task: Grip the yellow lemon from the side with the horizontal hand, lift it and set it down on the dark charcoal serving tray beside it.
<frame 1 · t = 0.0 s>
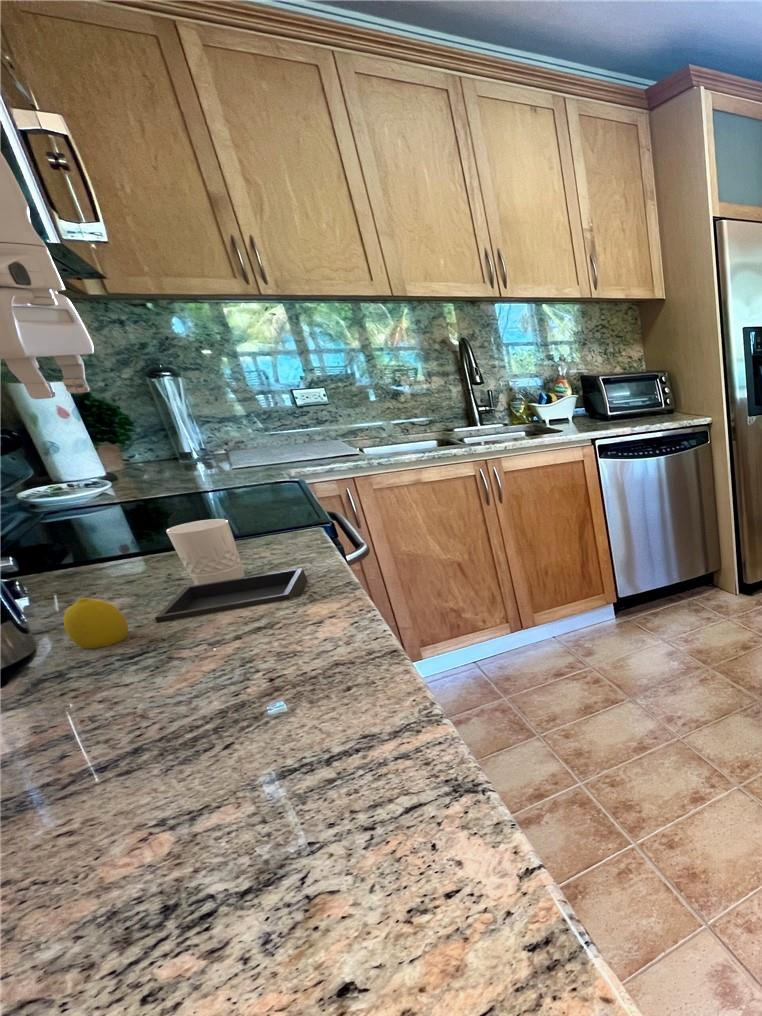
hand: (63, 395, 81), 32 cm above the countertop, tool pointing down, fingers open, 8 cm apart
white cup: (221, 581, 111), on the countertop
lemon: (111, 653, 87), on the countertop
tray: (241, 605, 100), on the countertop
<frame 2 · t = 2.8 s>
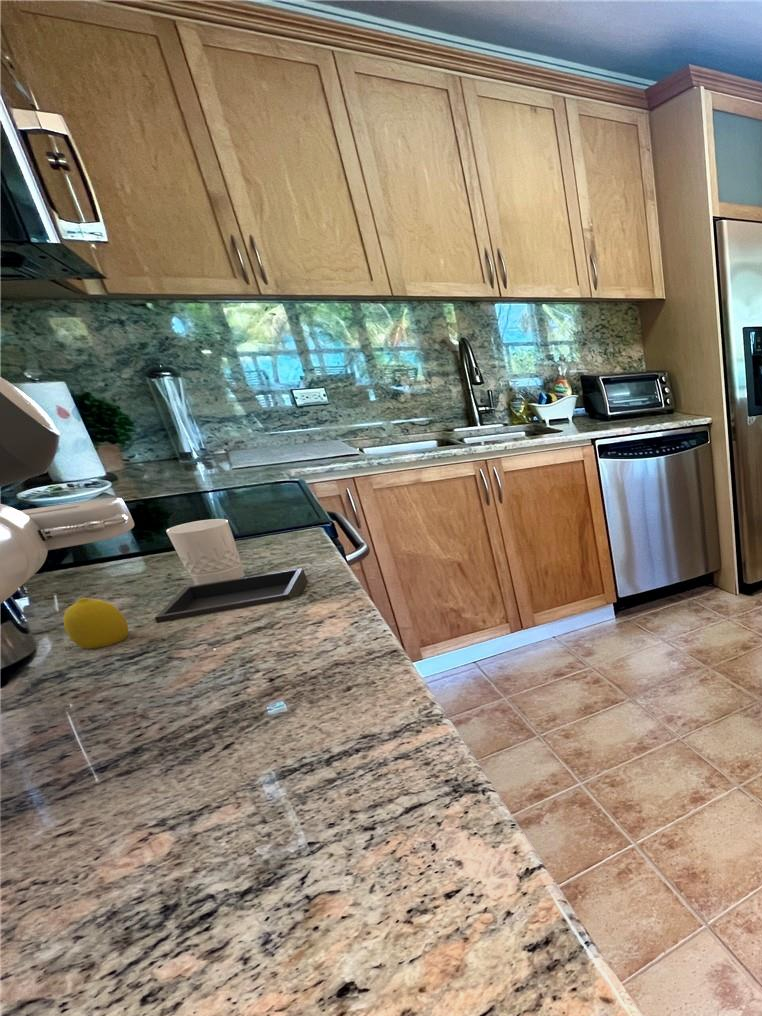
hand: (10, 524, 70), 20 cm above the countertop, tool horizontal, fingers open, 8 cm apart
nothing on the countertop moved.
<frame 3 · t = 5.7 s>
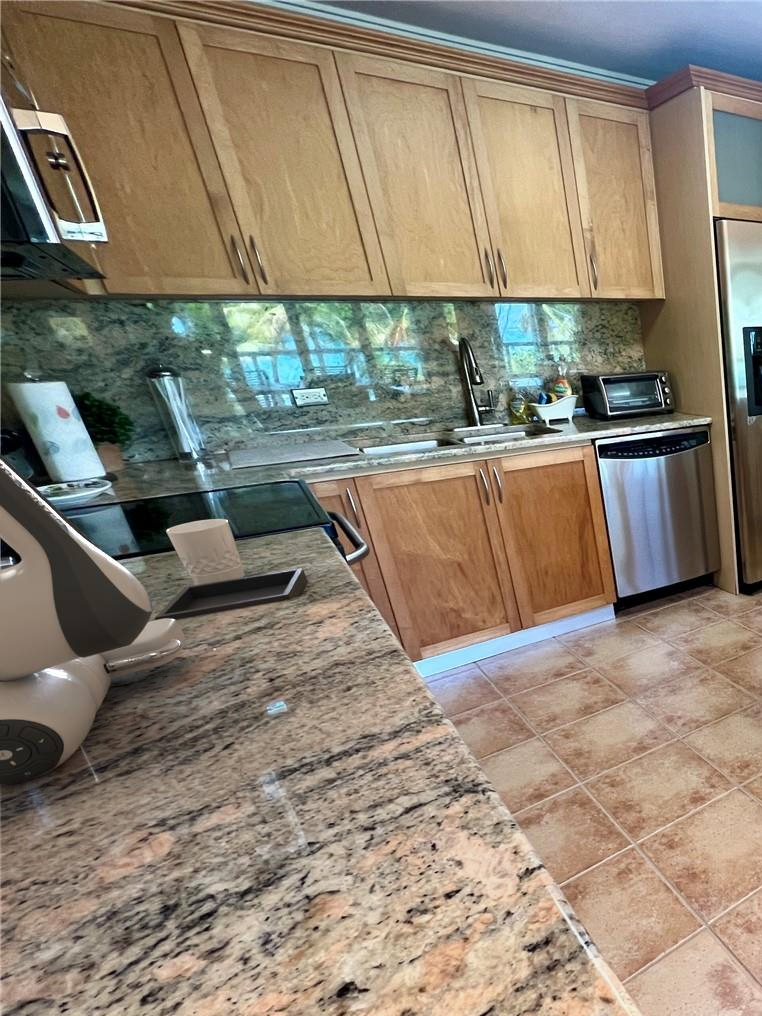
hand: (76, 639, 78), 5 cm above the countertop, tool horizontal, fingers open, 8 cm apart
nothing on the countertop moved.
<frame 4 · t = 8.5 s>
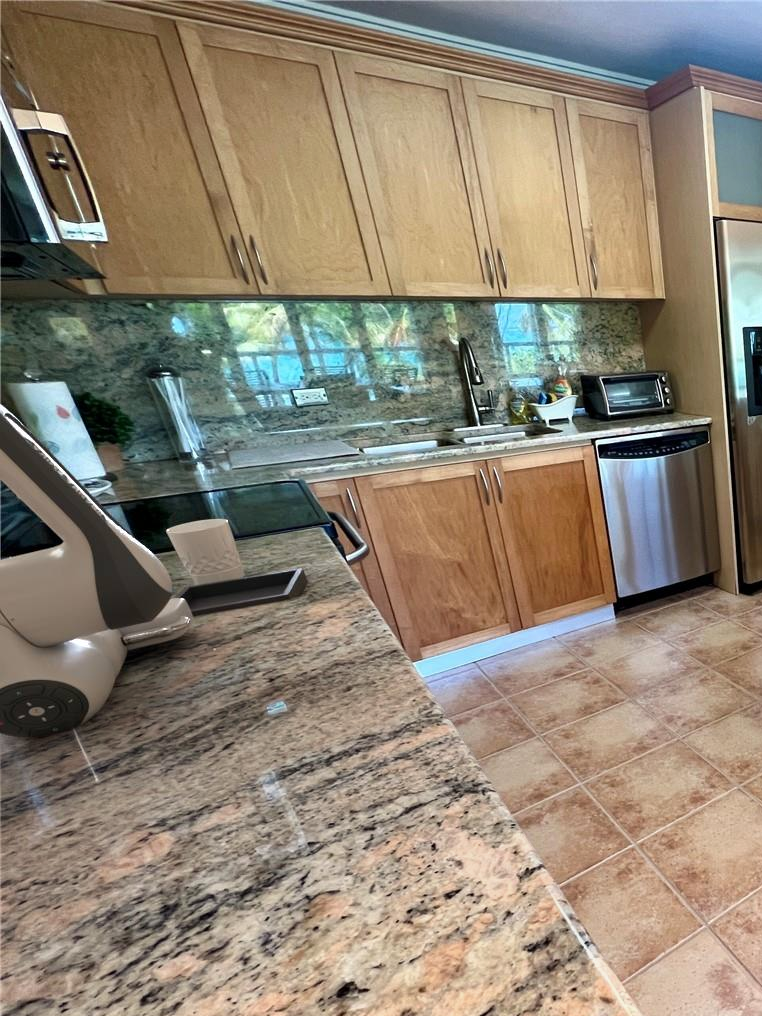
hand: (94, 616, 85), 5 cm above the countertop, tool horizontal, fingers closed on lemon, 5 cm apart
lemon: (111, 653, 87), on the countertop, touching gripper
everything else where it was.
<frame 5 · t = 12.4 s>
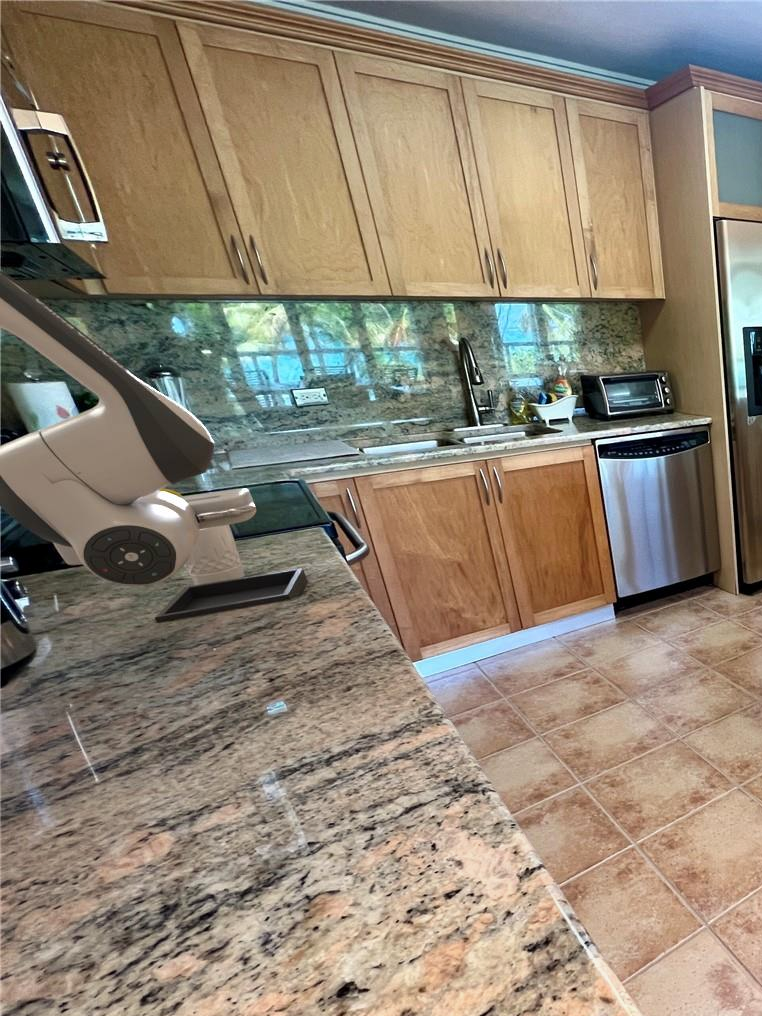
hand: (164, 506, 91), 17 cm above the countertop, tool horizontal, fingers closed on lemon, 5 cm apart
lemon: (179, 542, 92), point 12 cm above the countertop, touching gripper
everything else where it was.
when the fingers open (5 cm above the countertop, at t = 16.6 s): lemon stays where it is, resting on tray.
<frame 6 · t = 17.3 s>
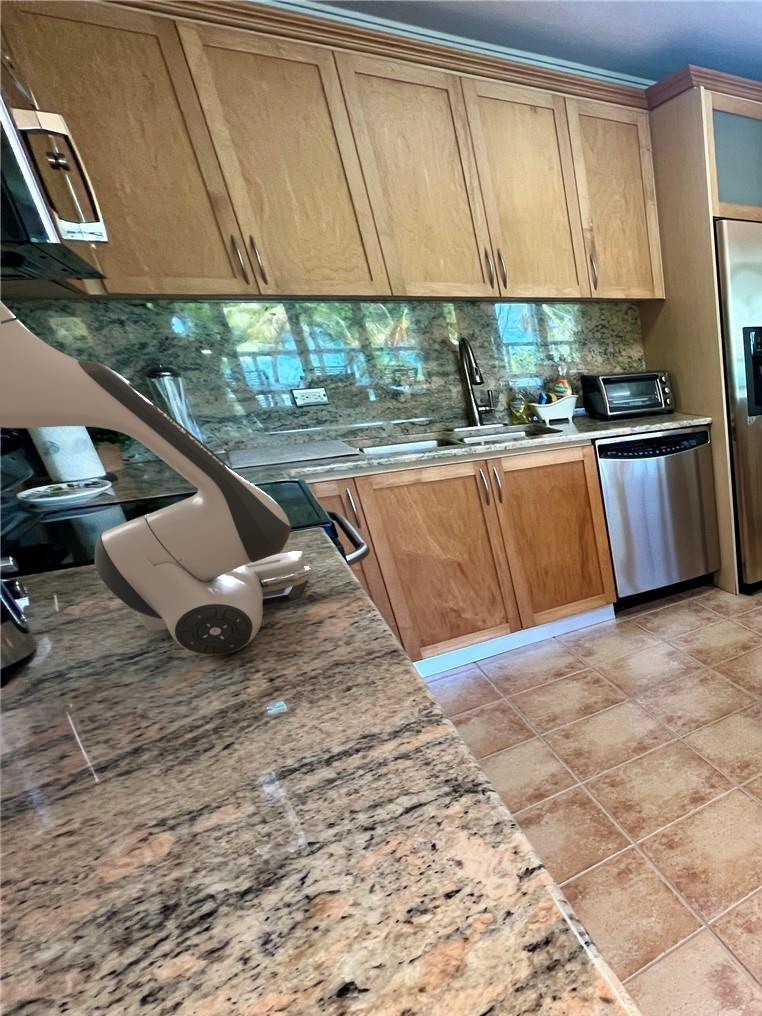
hand: (225, 567, 99), 6 cm above the countertop, tool horizontal, fingers open, 8 cm apart
lemon: (241, 603, 100), resting on tray
everything else where it was.
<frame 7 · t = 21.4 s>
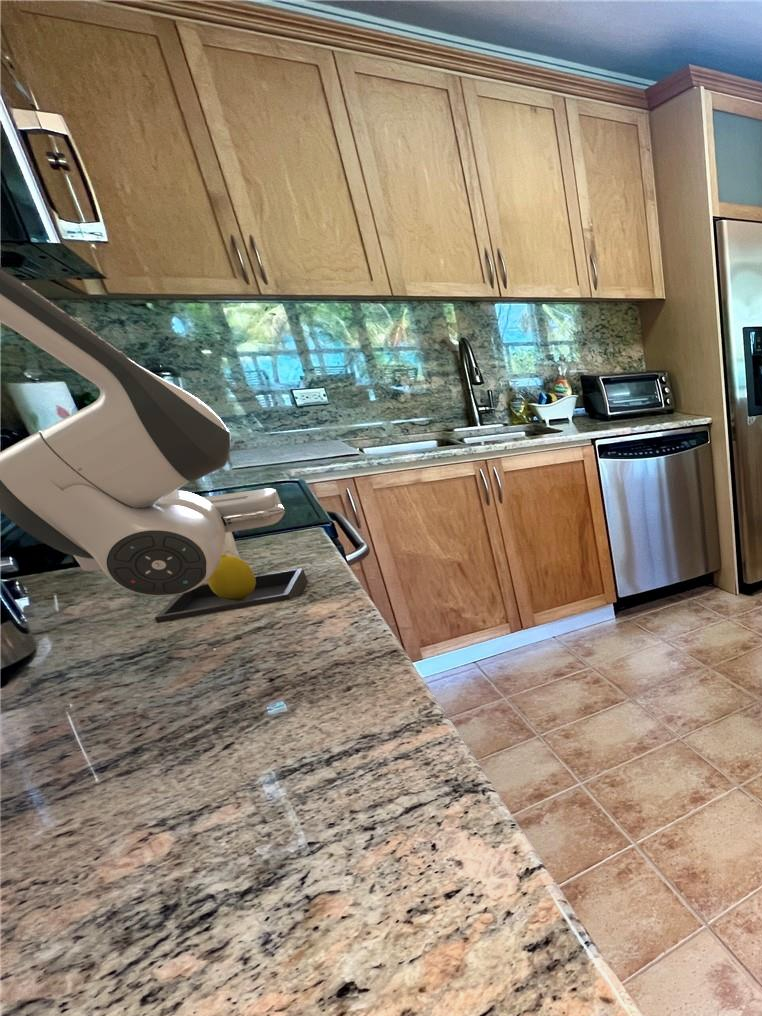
hand: (185, 506, 84), 18 cm above the countertop, tool horizontal, fingers open, 8 cm apart
nothing on the countertop moved.
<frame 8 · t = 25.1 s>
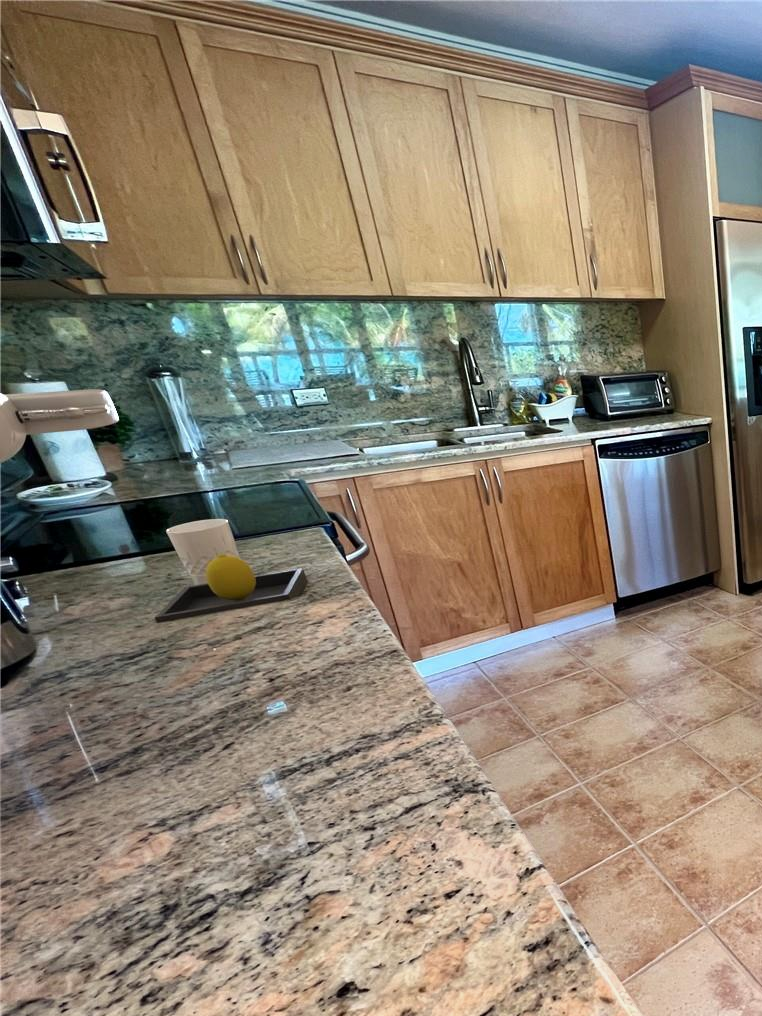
nothing on the countertop moved.
at the end: lemon inside the target area in the tray (0.2 cm from its centre), point 0.3 cm above the tray's base; the gripper is holding nothing; white cup moved 0.2 cm from its start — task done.
